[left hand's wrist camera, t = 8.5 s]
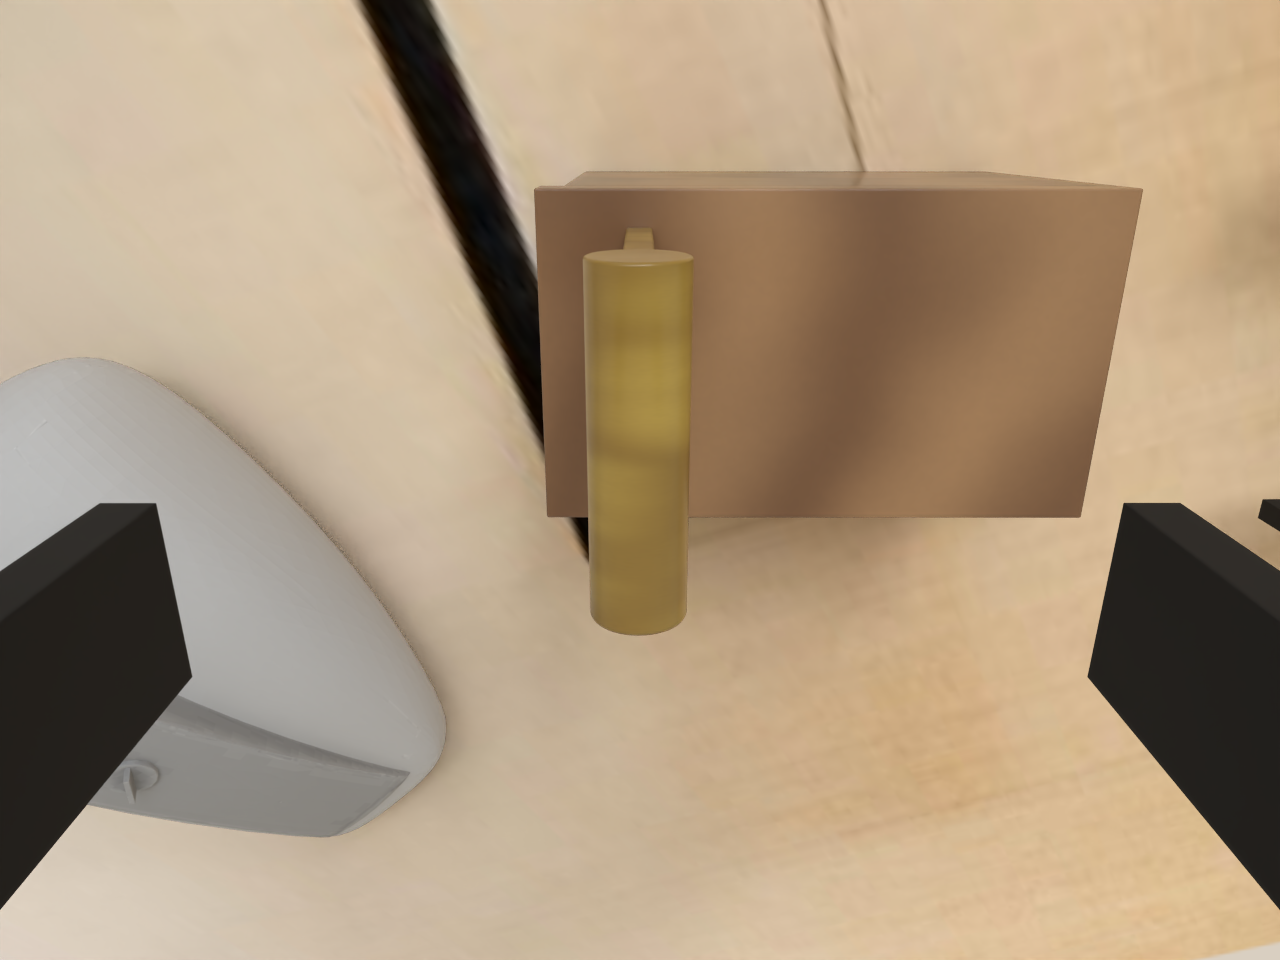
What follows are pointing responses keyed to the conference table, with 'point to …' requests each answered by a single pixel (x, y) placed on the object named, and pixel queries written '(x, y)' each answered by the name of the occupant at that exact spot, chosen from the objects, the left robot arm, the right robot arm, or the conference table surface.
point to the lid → (816, 360)
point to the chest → (815, 179)
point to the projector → (226, 613)
